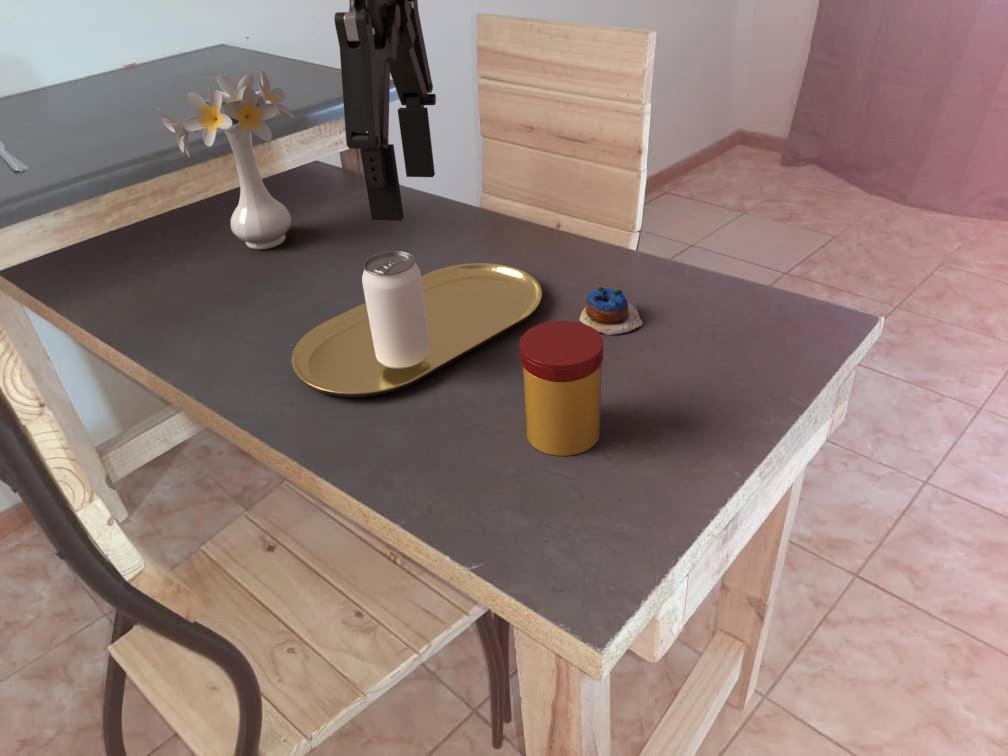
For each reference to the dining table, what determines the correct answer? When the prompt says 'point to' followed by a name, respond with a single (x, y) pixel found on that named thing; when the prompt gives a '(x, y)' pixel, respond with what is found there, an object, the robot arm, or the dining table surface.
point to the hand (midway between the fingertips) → (405, 195)
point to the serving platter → (451, 324)
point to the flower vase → (241, 151)
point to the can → (396, 309)
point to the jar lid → (561, 350)
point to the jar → (562, 413)
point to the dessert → (610, 312)
